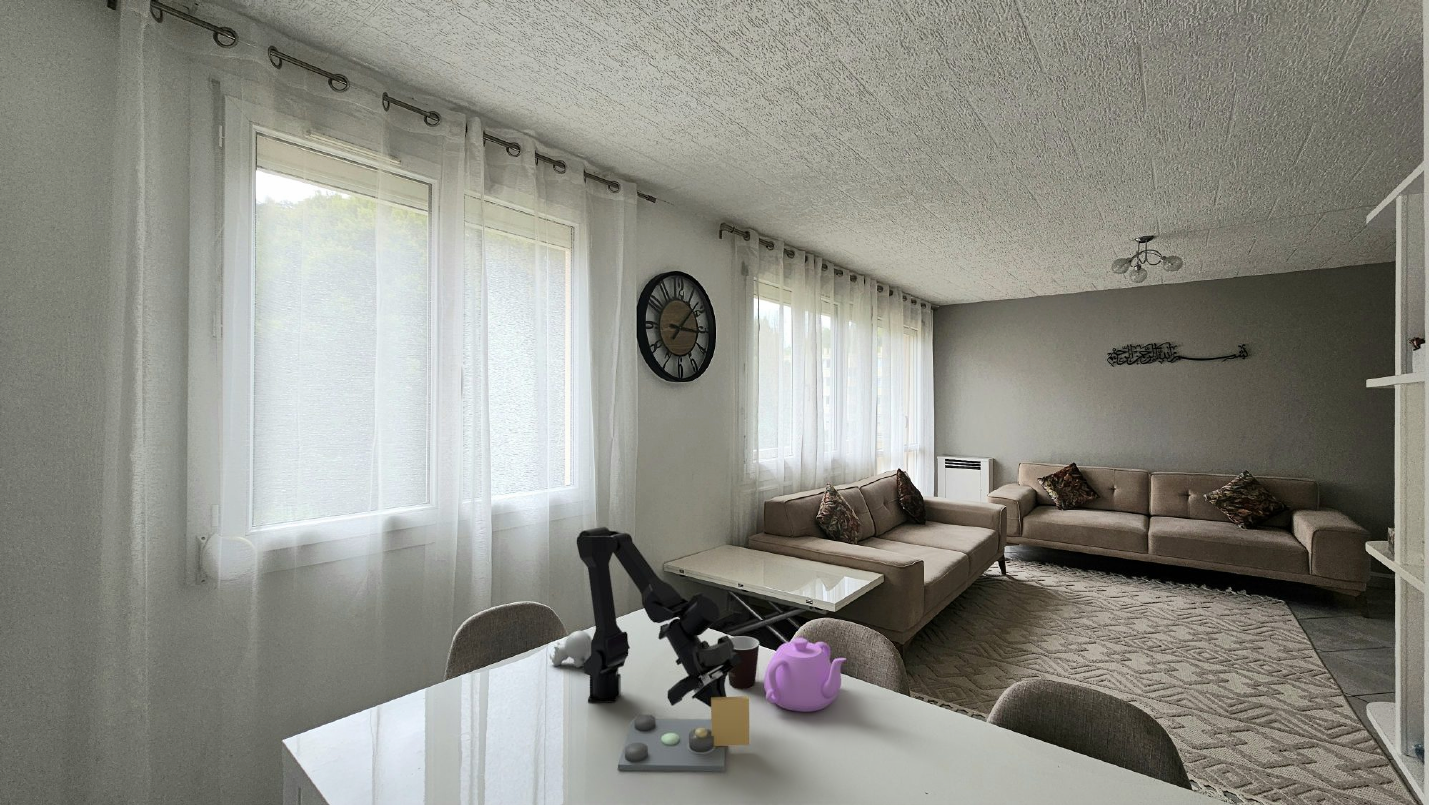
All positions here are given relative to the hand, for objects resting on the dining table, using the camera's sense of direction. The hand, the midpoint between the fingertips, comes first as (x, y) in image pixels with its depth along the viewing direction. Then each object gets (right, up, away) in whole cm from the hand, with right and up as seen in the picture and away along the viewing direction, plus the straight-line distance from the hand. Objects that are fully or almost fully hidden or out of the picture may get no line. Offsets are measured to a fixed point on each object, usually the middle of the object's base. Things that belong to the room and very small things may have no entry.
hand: (728, 716), depth 120 cm
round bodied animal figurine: (-41, -7, +40) cm, 58 cm away
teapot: (+19, -7, +18) cm, 27 cm away
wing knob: (-2, -5, -1) cm, 5 cm away
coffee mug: (+4, -7, +30) cm, 31 cm away
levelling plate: (-11, -6, +1) cm, 12 cm away
